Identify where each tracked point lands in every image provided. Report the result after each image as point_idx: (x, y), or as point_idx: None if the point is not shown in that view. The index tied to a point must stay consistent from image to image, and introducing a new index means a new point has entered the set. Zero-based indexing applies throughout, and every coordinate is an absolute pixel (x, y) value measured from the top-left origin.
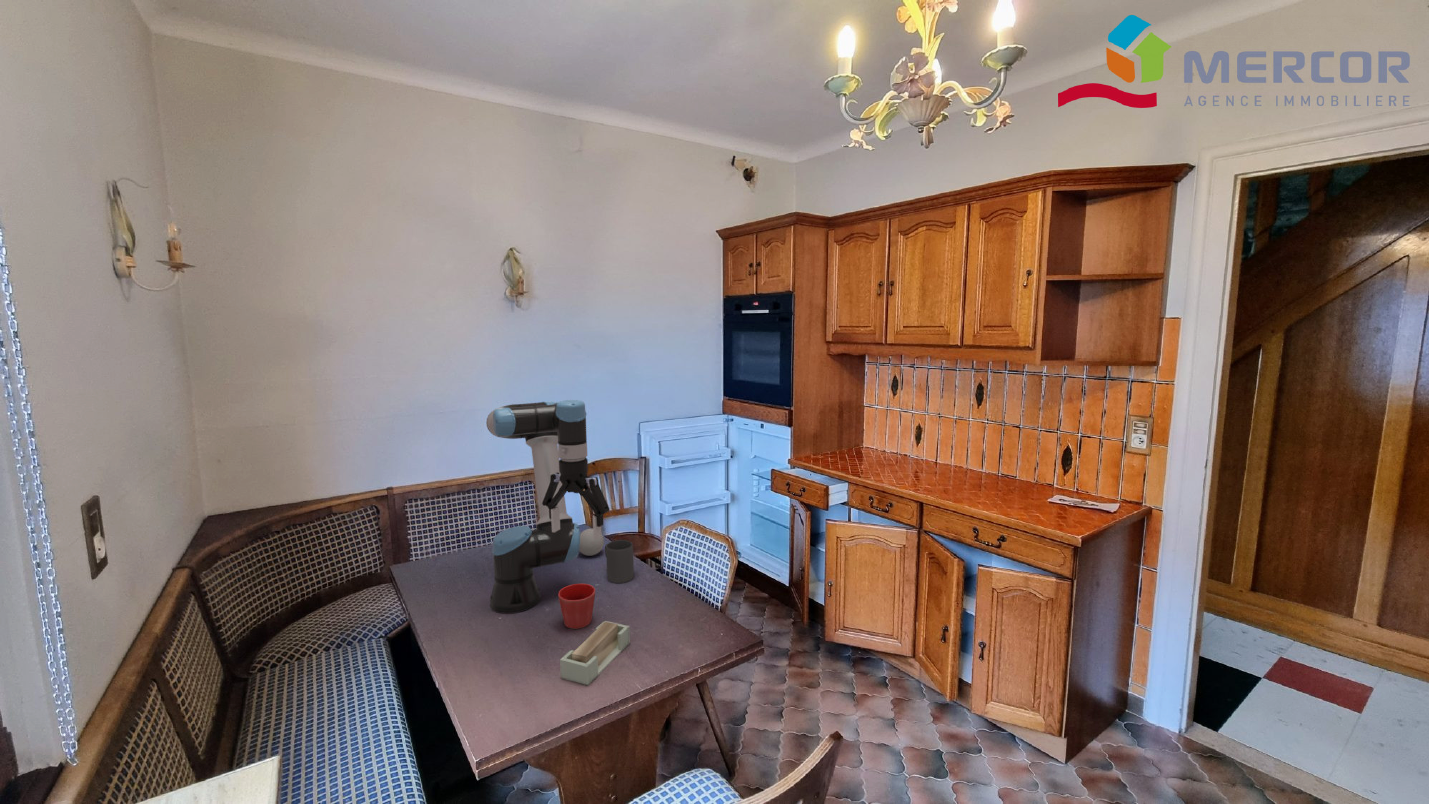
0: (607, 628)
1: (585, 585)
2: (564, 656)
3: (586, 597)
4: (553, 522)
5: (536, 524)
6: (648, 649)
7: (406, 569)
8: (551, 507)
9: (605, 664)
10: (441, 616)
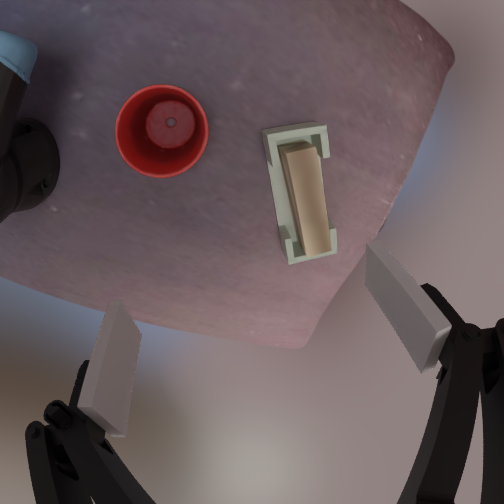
0: (309, 170)
1: (145, 91)
2: (288, 256)
3: (157, 94)
4: (133, 374)
5: None
6: (352, 121)
7: None
8: (109, 444)
9: None
10: (8, 260)
